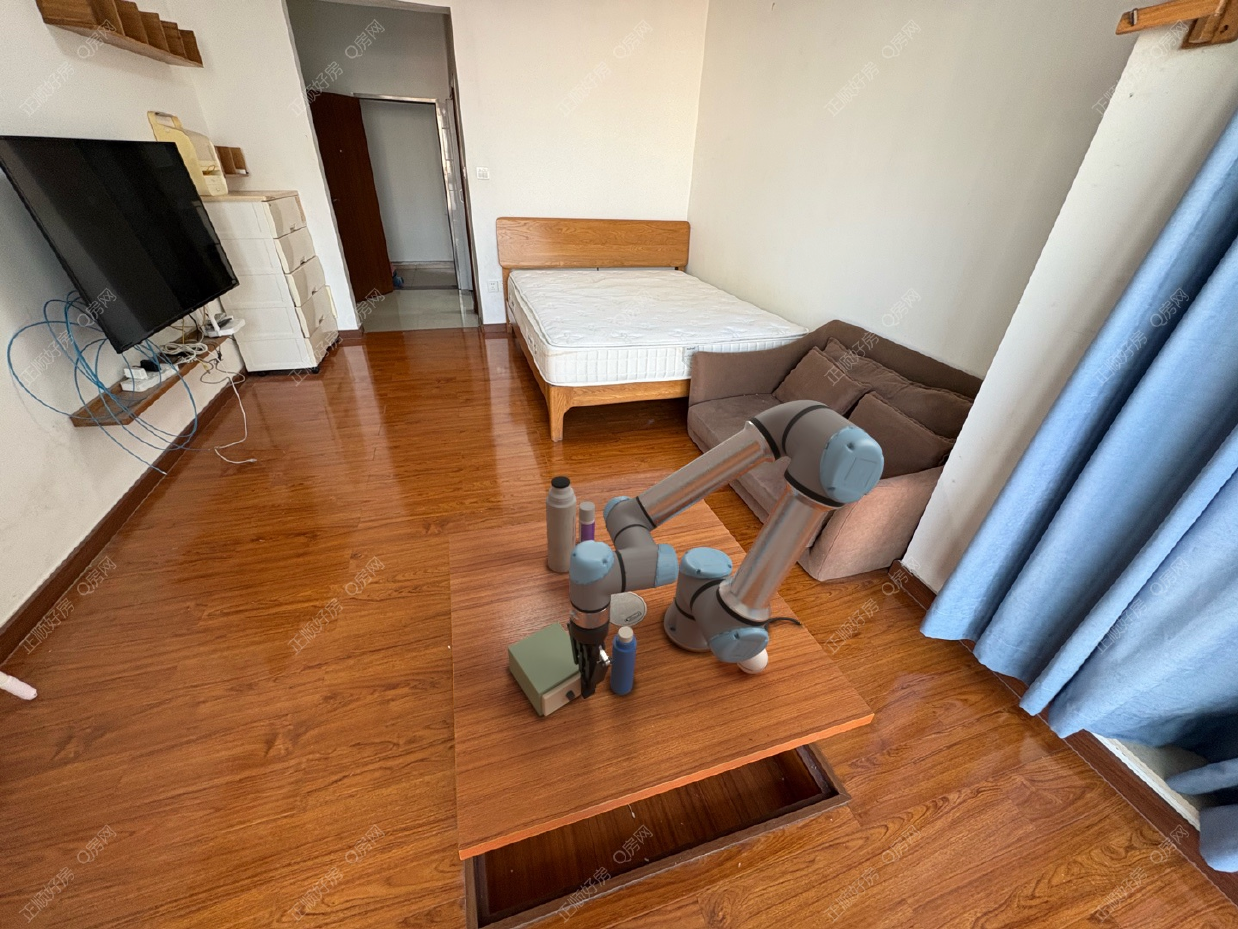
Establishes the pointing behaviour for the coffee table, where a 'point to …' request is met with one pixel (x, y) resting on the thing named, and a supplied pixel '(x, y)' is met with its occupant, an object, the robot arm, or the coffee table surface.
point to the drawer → (561, 694)
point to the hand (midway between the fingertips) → (588, 694)
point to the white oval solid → (755, 663)
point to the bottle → (623, 661)
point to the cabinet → (542, 662)
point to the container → (586, 521)
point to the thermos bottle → (560, 523)
